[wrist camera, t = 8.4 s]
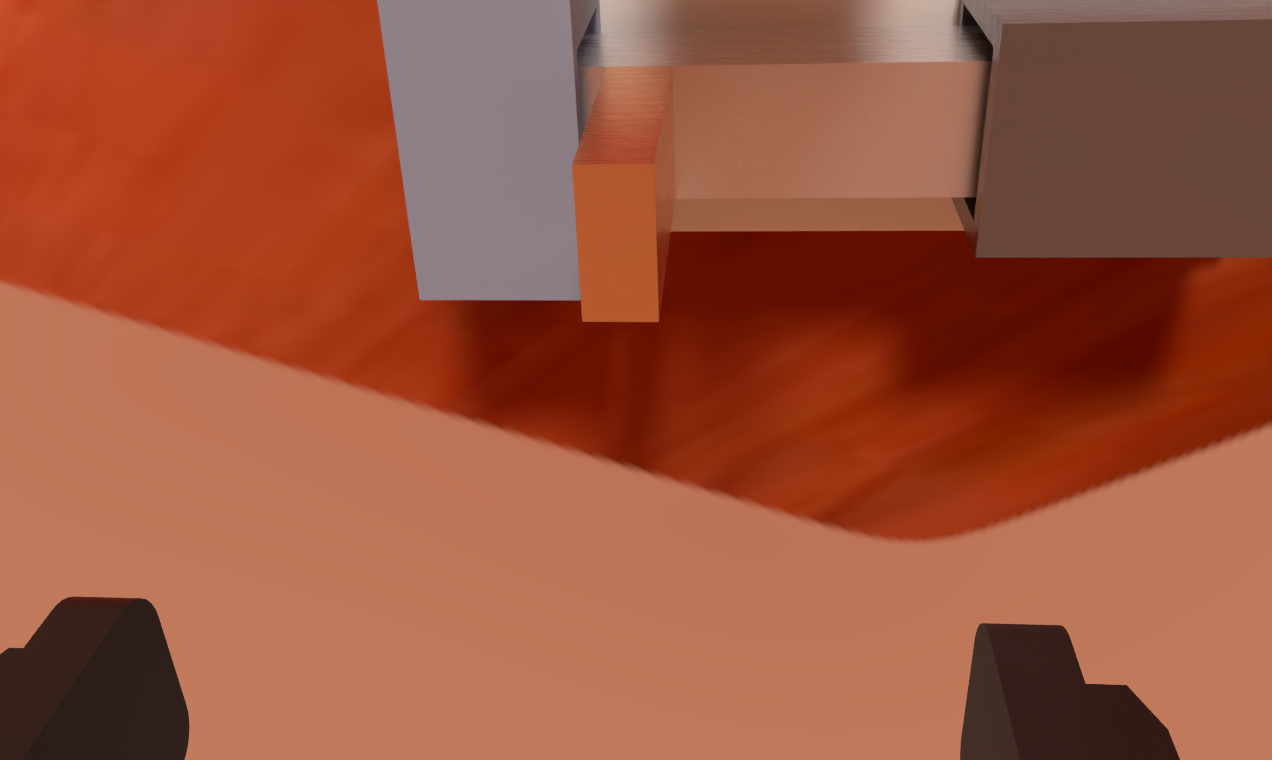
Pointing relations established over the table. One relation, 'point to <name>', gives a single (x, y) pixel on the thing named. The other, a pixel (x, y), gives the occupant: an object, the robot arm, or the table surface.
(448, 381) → the table surface
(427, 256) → the socket block
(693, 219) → the base board
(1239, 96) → the grey rectangular block
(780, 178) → the inner bar
